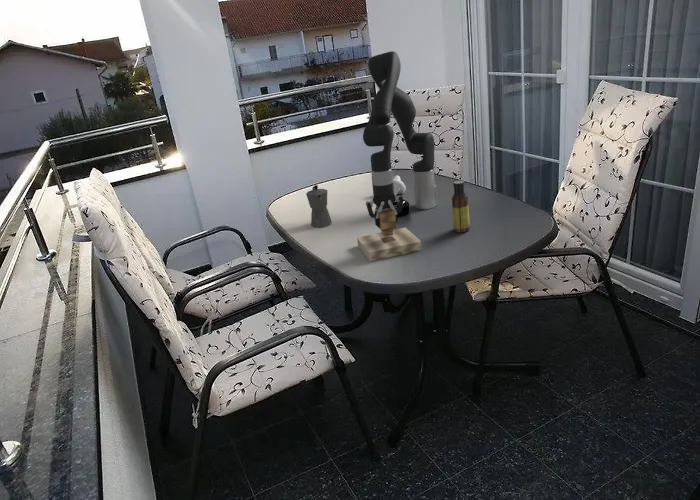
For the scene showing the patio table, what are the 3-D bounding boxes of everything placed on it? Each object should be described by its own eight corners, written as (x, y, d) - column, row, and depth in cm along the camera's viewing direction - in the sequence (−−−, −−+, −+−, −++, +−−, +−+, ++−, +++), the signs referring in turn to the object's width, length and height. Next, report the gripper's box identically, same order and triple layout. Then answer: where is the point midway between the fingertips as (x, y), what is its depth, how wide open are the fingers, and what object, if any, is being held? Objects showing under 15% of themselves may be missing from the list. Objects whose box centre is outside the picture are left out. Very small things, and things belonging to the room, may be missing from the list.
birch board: (406, 235, 199) (405, 227, 197) (421, 250, 184) (420, 241, 183) (358, 245, 195) (357, 237, 193) (369, 261, 180) (368, 252, 179)
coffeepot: (334, 227, 217) (329, 187, 210) (313, 231, 215) (307, 191, 208) (328, 216, 231) (322, 178, 223) (308, 219, 229) (302, 182, 222)
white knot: (411, 192, 249) (409, 174, 246) (400, 199, 240) (398, 181, 237) (391, 190, 255) (389, 173, 252) (379, 198, 246) (377, 180, 243)
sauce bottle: (470, 227, 199) (469, 179, 191) (468, 233, 193) (467, 184, 186) (454, 227, 201) (452, 179, 193) (451, 233, 196) (450, 184, 188)
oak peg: (392, 230, 190) (390, 207, 187) (396, 235, 185) (395, 211, 182) (378, 233, 189) (375, 209, 186) (382, 238, 184) (380, 214, 181)
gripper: (397, 175, 184) (401, 218, 191) (360, 182, 181) (365, 225, 188) (405, 180, 177) (408, 224, 184) (366, 187, 174) (371, 232, 181)
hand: (386, 225), depth 186 cm, fingers closed on oak peg, 5 cm apart
